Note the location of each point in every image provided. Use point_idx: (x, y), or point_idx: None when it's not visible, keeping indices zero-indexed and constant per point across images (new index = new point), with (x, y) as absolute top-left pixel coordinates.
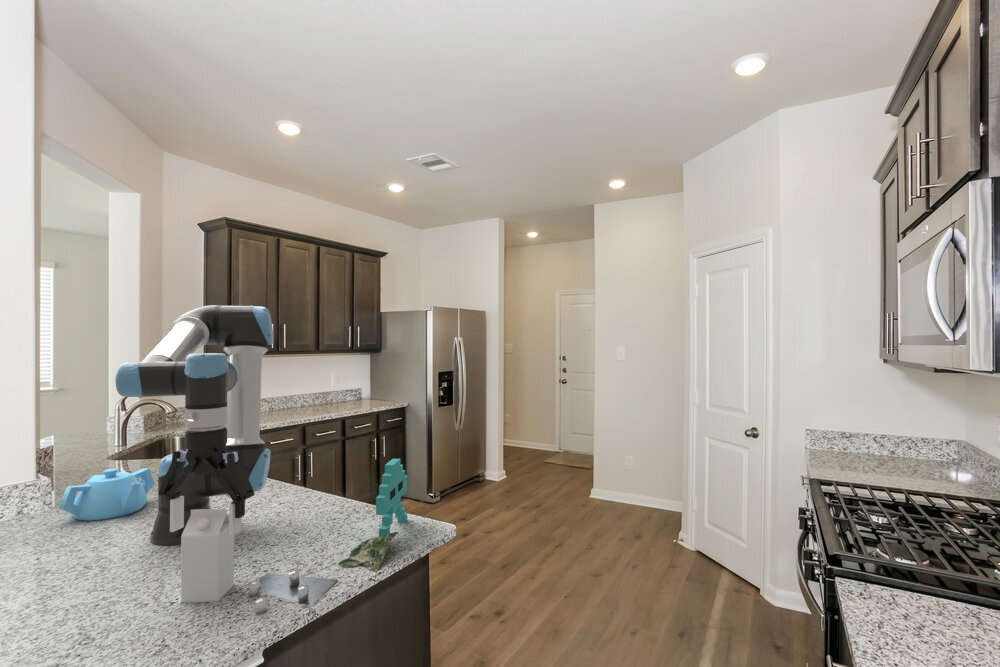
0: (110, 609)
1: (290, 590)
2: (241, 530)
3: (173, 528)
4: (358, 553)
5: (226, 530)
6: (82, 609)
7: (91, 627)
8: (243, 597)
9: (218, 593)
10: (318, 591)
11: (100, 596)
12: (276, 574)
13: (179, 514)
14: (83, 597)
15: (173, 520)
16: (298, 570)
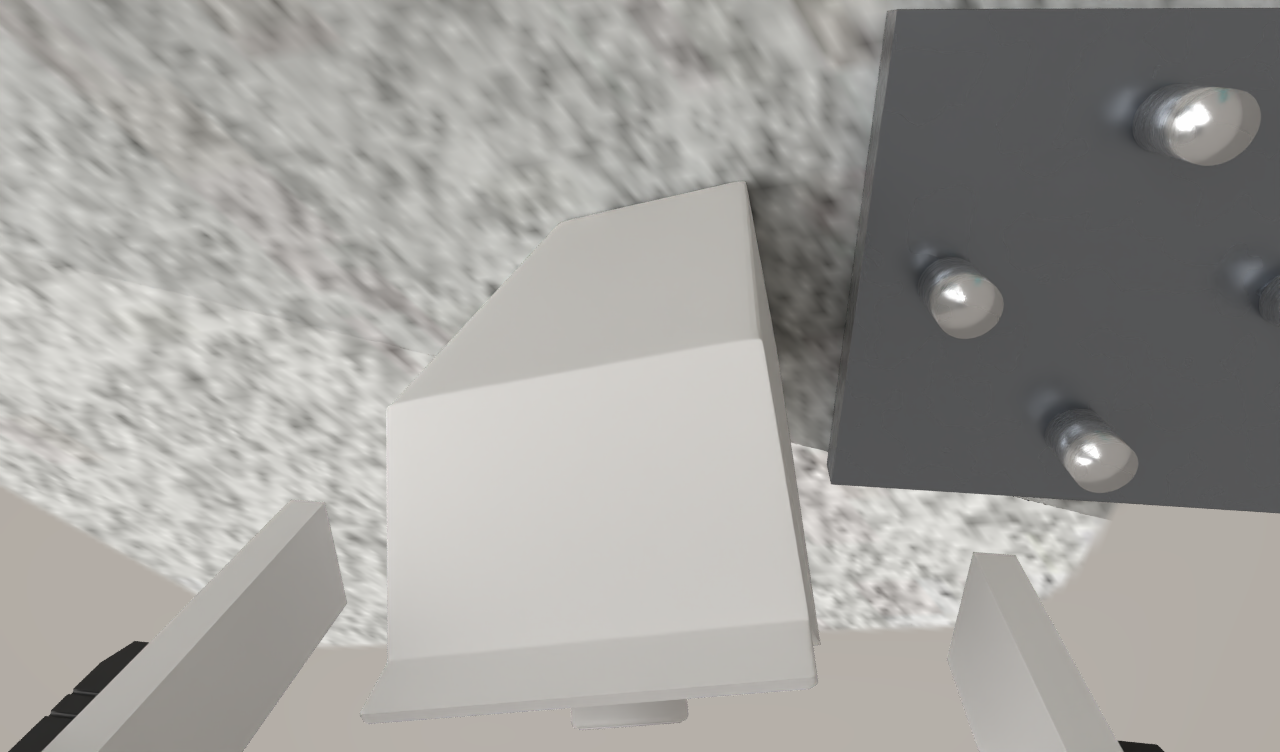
0: (287, 402)
1: (1172, 213)
2: (1014, 562)
3: (330, 622)
4: None
5: (792, 495)
6: (177, 413)
7: (354, 509)
8: (844, 235)
9: (782, 386)
10: None
11: (123, 317)
12: (976, 13)
13: (246, 654)
14: (65, 333)
15: (287, 685)
16: (1251, 104)
